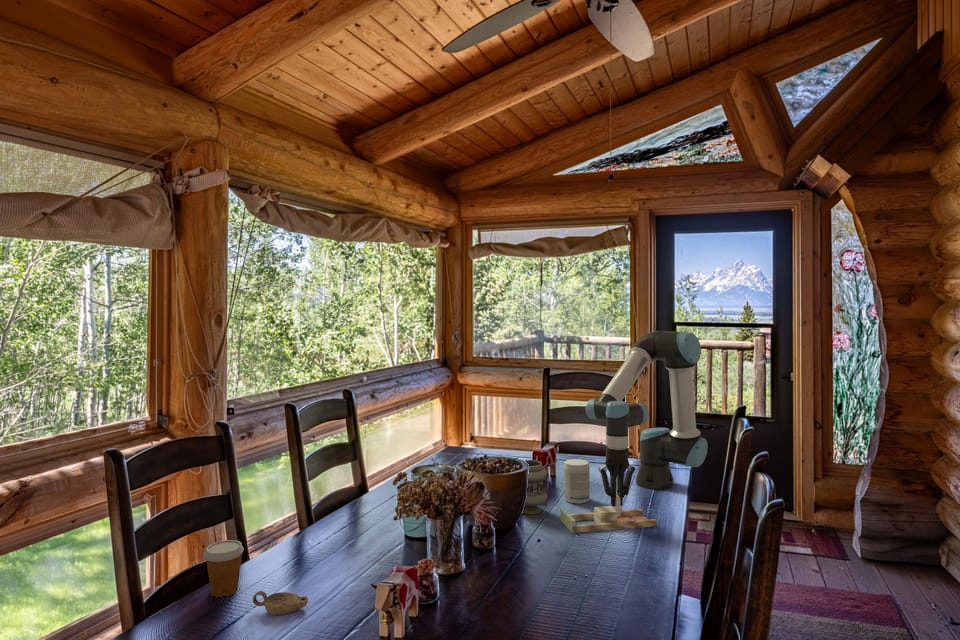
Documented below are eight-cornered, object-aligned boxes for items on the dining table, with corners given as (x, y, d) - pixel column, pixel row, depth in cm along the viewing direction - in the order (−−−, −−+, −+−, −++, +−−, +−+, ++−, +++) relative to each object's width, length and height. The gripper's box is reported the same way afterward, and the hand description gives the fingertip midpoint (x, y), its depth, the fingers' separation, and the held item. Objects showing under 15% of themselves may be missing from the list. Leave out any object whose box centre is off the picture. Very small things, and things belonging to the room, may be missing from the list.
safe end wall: (563, 520, 209) (563, 508, 208) (575, 532, 197) (575, 520, 197) (560, 520, 208) (560, 509, 208) (571, 532, 197) (571, 520, 197)
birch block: (610, 520, 209) (610, 506, 209) (617, 526, 203) (617, 511, 203) (593, 521, 208) (594, 507, 208) (600, 527, 202) (600, 513, 202)
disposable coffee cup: (232, 580, 164) (232, 536, 163) (251, 590, 158) (250, 545, 157) (197, 593, 156) (197, 547, 156) (215, 604, 150) (215, 557, 150)
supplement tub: (594, 500, 230) (594, 462, 229) (579, 506, 223) (579, 466, 223) (574, 494, 237) (574, 457, 236) (558, 500, 230) (559, 461, 230)
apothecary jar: (508, 514, 214) (508, 464, 214) (521, 504, 225) (521, 456, 224) (539, 520, 209) (539, 468, 208) (552, 509, 219) (552, 460, 219)
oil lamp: (311, 603, 151) (311, 583, 151) (303, 619, 144) (302, 598, 144) (259, 603, 151) (258, 584, 151) (247, 619, 144) (247, 598, 143)
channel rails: (641, 514, 214) (641, 508, 214) (656, 526, 203) (656, 520, 203) (560, 520, 208) (561, 514, 208) (572, 532, 197) (572, 526, 197)
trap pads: (642, 515, 213) (642, 515, 213) (654, 524, 204) (654, 523, 204) (614, 518, 211) (614, 517, 211) (624, 526, 202) (624, 526, 202)
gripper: (629, 443, 210) (629, 510, 211) (594, 445, 208) (594, 513, 208) (639, 448, 203) (639, 517, 204) (603, 450, 200) (603, 520, 201)
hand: (616, 515), depth 206 cm, fingers closed
